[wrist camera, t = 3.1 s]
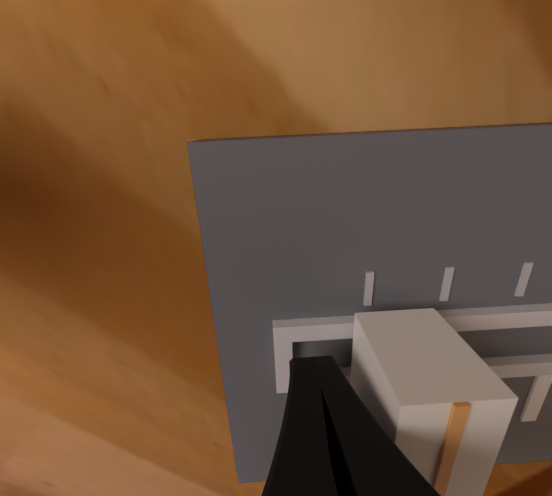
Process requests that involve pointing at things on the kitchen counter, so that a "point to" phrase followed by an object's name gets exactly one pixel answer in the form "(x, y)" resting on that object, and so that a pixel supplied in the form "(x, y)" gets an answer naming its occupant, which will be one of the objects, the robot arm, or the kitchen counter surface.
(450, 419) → the fader cap
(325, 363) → the robot arm
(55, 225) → the kitchen counter surface
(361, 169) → the console
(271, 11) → the kitchen counter surface
